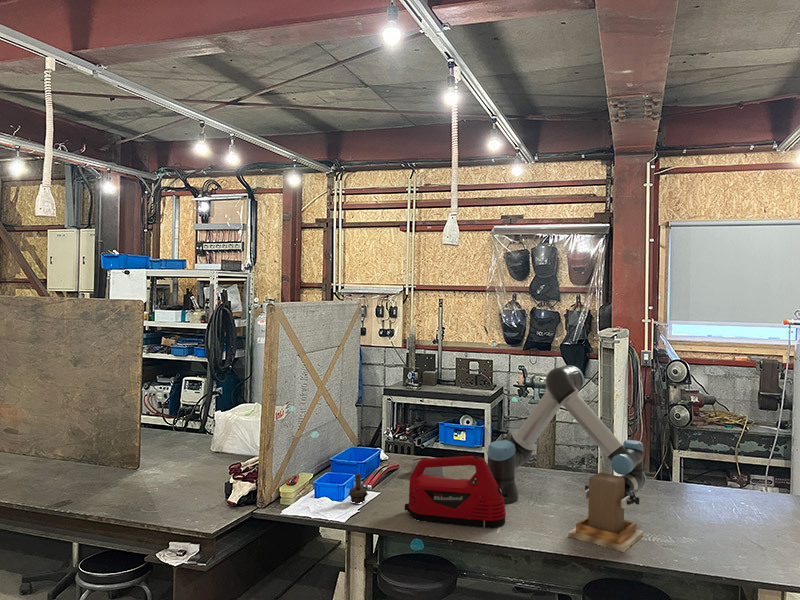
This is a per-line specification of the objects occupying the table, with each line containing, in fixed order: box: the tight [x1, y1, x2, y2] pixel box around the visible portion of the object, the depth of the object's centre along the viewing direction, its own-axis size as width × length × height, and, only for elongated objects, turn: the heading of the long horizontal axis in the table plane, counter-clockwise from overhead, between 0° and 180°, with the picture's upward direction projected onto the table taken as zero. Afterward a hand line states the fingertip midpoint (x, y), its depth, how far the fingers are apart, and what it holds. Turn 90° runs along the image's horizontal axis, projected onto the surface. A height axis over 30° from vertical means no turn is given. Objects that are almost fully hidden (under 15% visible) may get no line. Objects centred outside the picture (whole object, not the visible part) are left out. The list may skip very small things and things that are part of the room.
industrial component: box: [348, 473, 369, 503], centre depth 247 cm, size 9×7×12 cm
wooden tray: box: [567, 515, 644, 553], centre depth 217 cm, size 20×20×4 cm
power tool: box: [404, 455, 507, 529], centre depth 232 cm, size 16×40×25 cm, turn 76°
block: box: [587, 472, 625, 534], centre depth 217 cm, size 10×10×20 cm
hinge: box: [410, 456, 446, 477], centre depth 288 cm, size 17×5×10 cm, turn 79°
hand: (603, 499), depth 214 cm, fingers open, 13 cm apart
